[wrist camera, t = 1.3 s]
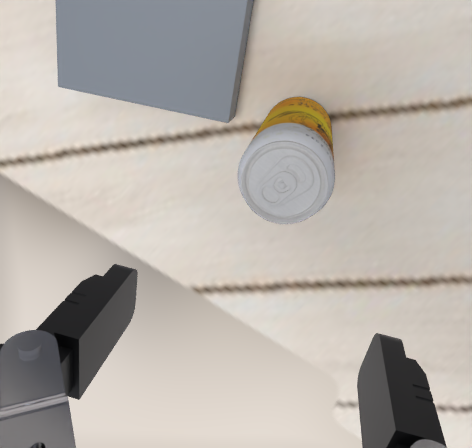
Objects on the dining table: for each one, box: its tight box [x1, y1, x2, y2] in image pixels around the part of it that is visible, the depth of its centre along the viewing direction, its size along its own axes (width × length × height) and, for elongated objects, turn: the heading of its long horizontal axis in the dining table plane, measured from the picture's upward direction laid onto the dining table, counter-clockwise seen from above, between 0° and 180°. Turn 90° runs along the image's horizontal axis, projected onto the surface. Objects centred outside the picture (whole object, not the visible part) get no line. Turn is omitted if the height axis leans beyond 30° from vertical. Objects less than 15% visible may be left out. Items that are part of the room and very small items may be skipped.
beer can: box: [238, 97, 335, 224], centre depth 32 cm, size 6×6×15 cm
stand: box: [56, 0, 254, 123], centre depth 35 cm, size 16×16×3 cm
